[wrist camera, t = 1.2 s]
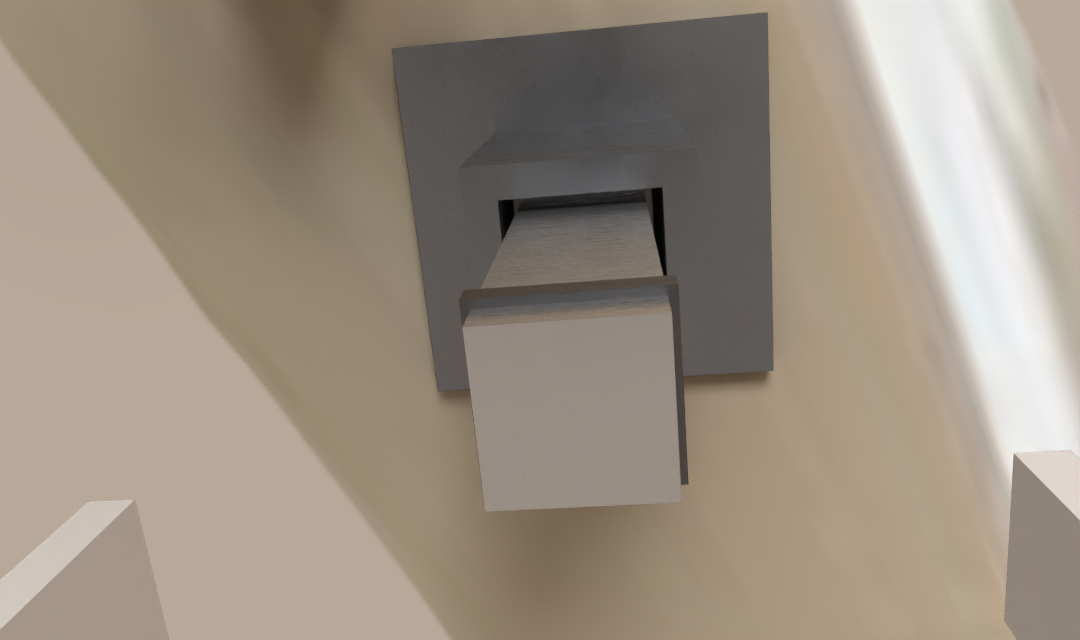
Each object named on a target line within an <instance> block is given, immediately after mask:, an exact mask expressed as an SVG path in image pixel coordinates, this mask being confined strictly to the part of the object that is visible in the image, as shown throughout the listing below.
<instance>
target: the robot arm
mask: <svg viewBox="0 0 1080 640" xmlns="http://www.w3.org/2000/svg"><path fill="white" fill-rule="evenodd" d="M1004 621H1005V622H1006V624H1007V625H1008V627H1009V628H1010V630H1011V631H1012V633H1013V634H1014V636H1015V637H1016V639H1017V640H1080V458H1079V457H1078V456H1076V455H1075V454H1074V453H1073V452H1072V451H1071V450H1063V451H1044V452H1025V453H1014V459H1013V476H1012V493H1011V510H1010V528H1009V545H1008V562H1007V579H1006V597H1005V614H1004ZM0 640H169V637H168V633H167V629H166V625H165V621H164V617H163V613H162V609H161V605H160V600H159V597H158V592H157V588H156V584H155V580H154V576H153V572H152V567H151V563H150V559H149V555H148V551H147V547H146V543H145V538H144V535H143V530H142V526H141V522H140V518H139V514H138V510H137V506H136V501H135V499H131V500H112V501H94V502H88V503H86V504H85V505H84V506H83V507H82V508H81V509H80V510H79V511H77V512H76V513H75V514H74V515H73V516H72V517H71V518H69V519H68V520H67V521H66V522H65V523H64V524H63V525H62V526H60V527H59V528H58V529H57V530H56V531H55V532H54V533H53V534H51V535H50V536H49V537H48V538H47V539H46V540H45V541H44V542H42V543H41V544H40V545H39V546H38V547H37V548H36V549H34V550H33V551H32V552H31V553H30V554H29V555H28V556H26V557H25V558H24V559H23V560H22V561H21V562H20V563H19V564H17V566H15V567H14V568H13V569H12V570H11V571H10V572H8V573H7V574H6V575H5V576H4V577H3V578H2V579H1V580H0Z"/></svg>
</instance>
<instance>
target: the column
mask: <svg viewBox="0 0 1080 640" xmlns="http://www.w3.org/2000/svg"><path fill="white" fill-rule="evenodd" d="M513 203H514V212H515V216H514V218H513V220H512V223H511V225H510V227H509V229H508V231H507V233H506V235H505V237H504V240H503V242H502V244H501V246H500V248H499V250H498V252H497V254H496V257H495V259H494V261H493V263H492V265H491V267H490V269H489V271H488V274H487V276H486V278H485V280H484V282H483V284H482V286H481V288H480V289H471V290H464V291H463V292H462V294H461V296H460V298H459V307H460V315H461V323H462V331H463V339H464V347H465V355H466V363H467V371H468V379H469V387H470V395H471V403H472V411H473V420H474V428H475V436H476V444H477V452H478V460H479V468H480V476H481V484H482V492H483V498H484V507H485V512H491V511H512V510H533V509H554V508H574V507H595V506H616V505H637V504H658V503H678V502H682V500H681V485H684V484H688V468H687V447H686V426H685V405H684V385H683V364H682V343H681V322H680V302H679V284H678V280H677V277H676V275H669V276H663V272H662V268H661V263H660V259H659V254H658V250H657V246H656V241H655V237H654V228H653V210H652V192H651V188H647V189H634V190H622V191H609V192H597V193H584V194H572V195H559V196H547V197H534V198H522V199H513Z"/></svg>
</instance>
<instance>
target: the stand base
mask: <svg viewBox="0 0 1080 640" xmlns="http://www.w3.org/2000/svg"><path fill="white" fill-rule="evenodd" d="M392 54H393V62H394V69H395V77H396V84H397V91H398V99H399V106H400V114H401V121H402V128H403V136H404V143H405V151H406V158H407V165H408V173H409V180H410V187H411V195H412V202H413V210H414V217H415V224H416V232H417V239H418V247H419V254H420V261H421V269H422V276H423V284H424V291H425V298H426V306H427V313H428V321H429V328H430V335H431V343H432V350H433V357H434V365H435V372H436V380H437V387H438V391H447V390H464V389H470V387H469V379H468V371H467V363H466V355H465V347H464V339H463V331H462V323H461V315H460V307H459V298H460V296H461V294H462V292H463V291H464V290H471V289H480V288H481V286H482V284H483V282H484V280H485V278H486V276H487V274H488V271H489V269H490V267H491V265H492V263H493V261H494V259H495V257H496V254H497V252H498V250H499V248H500V246H501V244H502V242H503V240H504V237H505V235H506V233H507V231H508V229H509V227H510V225H511V223H512V220H513V218H514V216H515V212H514V203H513V199H522V198H534V197H547V196H559V195H572V194H584V193H597V192H609V191H622V190H634V189H647V188H651V192H652V210H653V228H654V237H655V241H656V246H657V250H658V254H659V259H660V263H661V268H662V272H663V276H669V275H676V277H677V280H678V284H679V302H680V322H681V343H682V364H683V376H695V375H711V374H728V373H744V372H761V371H773V317H772V256H771V195H770V134H769V73H768V13H756V14H746V15H736V16H725V17H715V18H705V19H694V20H684V21H673V22H663V23H653V24H642V25H632V26H621V27H611V28H601V29H590V30H580V31H569V32H559V33H549V34H538V35H528V36H518V37H507V38H497V39H486V40H476V41H466V42H455V43H445V44H434V45H424V46H414V47H403V48H394V49H392Z"/></svg>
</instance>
